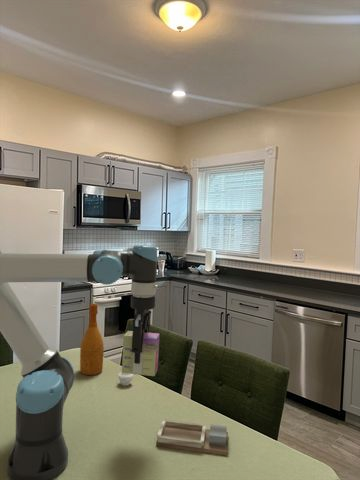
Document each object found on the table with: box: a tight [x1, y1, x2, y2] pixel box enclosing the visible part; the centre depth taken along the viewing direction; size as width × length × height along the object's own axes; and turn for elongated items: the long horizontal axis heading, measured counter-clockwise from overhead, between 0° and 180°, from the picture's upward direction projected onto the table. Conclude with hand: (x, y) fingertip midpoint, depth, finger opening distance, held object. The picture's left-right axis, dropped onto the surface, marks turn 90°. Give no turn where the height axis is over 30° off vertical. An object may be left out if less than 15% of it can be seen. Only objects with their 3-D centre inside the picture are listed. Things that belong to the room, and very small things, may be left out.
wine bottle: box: [79, 303, 105, 376], centre depth 156 cm, size 10×10×30 cm
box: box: [121, 330, 160, 377], centre depth 112 cm, size 10×6×12 cm, turn 84°
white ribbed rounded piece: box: [117, 370, 134, 387], centre depth 146 cm, size 6×6×7 cm
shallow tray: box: [155, 419, 229, 456], centre depth 110 cm, size 10×21×4 cm, turn 81°
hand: (140, 368), depth 112 cm, fingers closed on box, 6 cm apart
